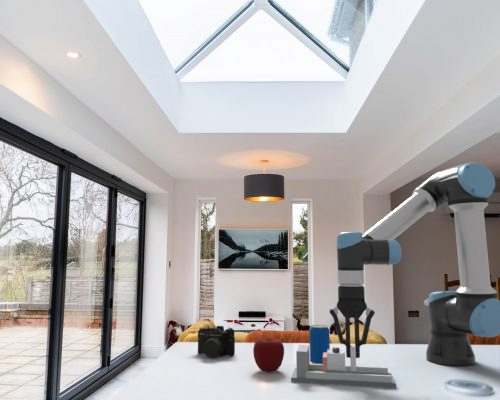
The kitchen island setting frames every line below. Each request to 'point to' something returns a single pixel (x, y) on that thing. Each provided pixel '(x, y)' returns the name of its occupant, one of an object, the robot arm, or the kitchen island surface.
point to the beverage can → (318, 343)
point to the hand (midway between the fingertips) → (353, 369)
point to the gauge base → (354, 378)
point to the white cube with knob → (336, 360)
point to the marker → (324, 362)
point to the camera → (216, 341)
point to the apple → (268, 354)
